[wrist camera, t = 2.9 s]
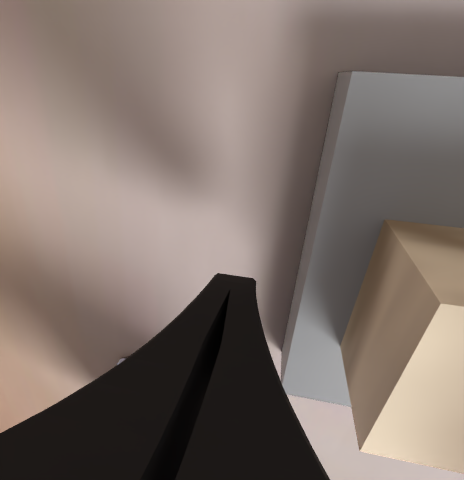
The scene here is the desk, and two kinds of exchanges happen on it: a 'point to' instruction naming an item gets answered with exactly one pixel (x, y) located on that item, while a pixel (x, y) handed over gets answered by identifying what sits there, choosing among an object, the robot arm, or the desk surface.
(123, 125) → the desk surface
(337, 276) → the tunnel deck
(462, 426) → the maple block
